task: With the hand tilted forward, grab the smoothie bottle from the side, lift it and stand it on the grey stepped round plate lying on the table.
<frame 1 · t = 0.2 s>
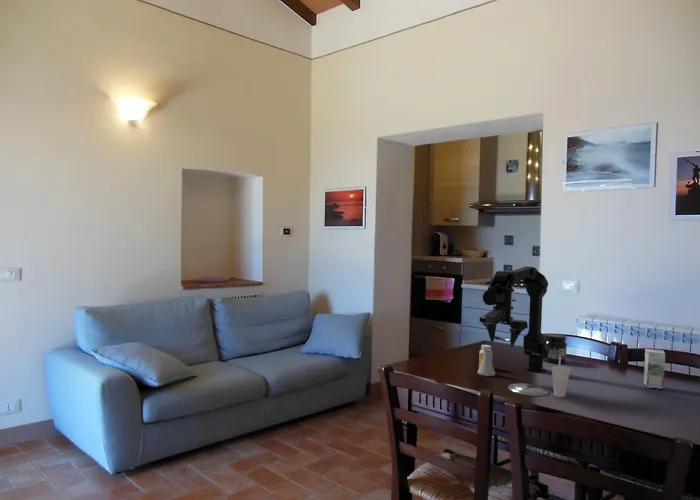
hand: (501, 343, 199), 14 cm above the table, tool pointing down, fingers open, 9 cm apart
smoothie: (559, 395, 183), on the table
supplement container: (553, 361, 236), on the table
flask: (486, 374, 208), on the table
syrup box: (653, 388, 198), on the table
grey stepped round plate: (527, 390, 188), on the table
supplement bottle: (485, 368, 218), on the table
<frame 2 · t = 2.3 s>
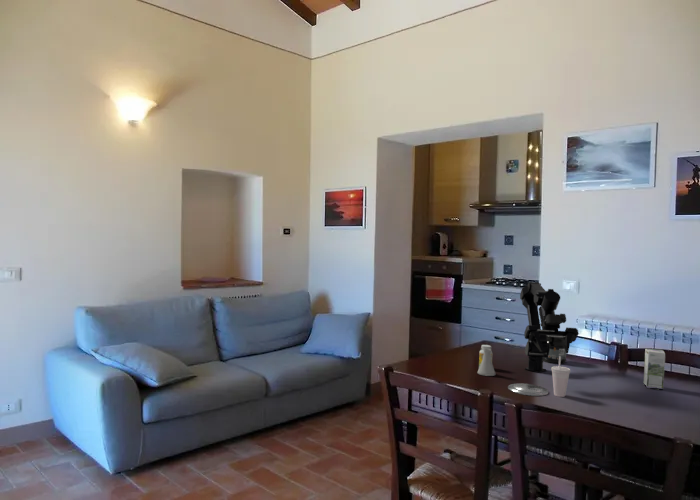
hand: (554, 352, 191), 13 cm above the table, tool tilted 45°, fingers open, 9 cm apart
nothing on the table moved.
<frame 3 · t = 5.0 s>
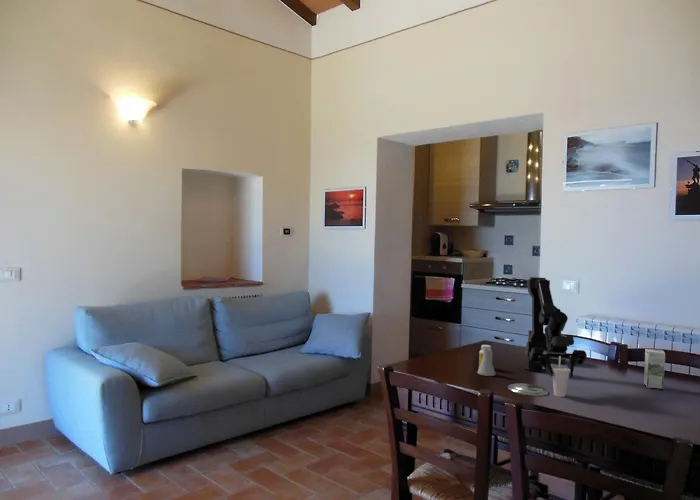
hand: (561, 376, 181), 7 cm above the table, tool tilted 45°, fingers closed on smoothie, 6 cm apart
smoothie: (559, 395, 183), on the table, touching gripper
everything else where it was.
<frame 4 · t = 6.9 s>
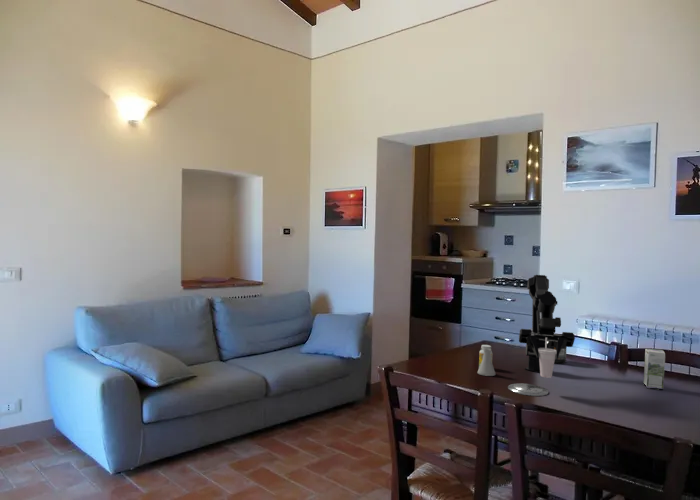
hand: (547, 357, 183), 13 cm above the table, tool tilted 45°, fingers closed on smoothie, 6 cm apart
smoothie: (546, 376, 185), point 6 cm above the table, touching gripper
everything else where it was.
when the fingers open (9 cm above the table, at t = 8.8 s): smoothie drops 1 cm, resting on grey stepped round plate.
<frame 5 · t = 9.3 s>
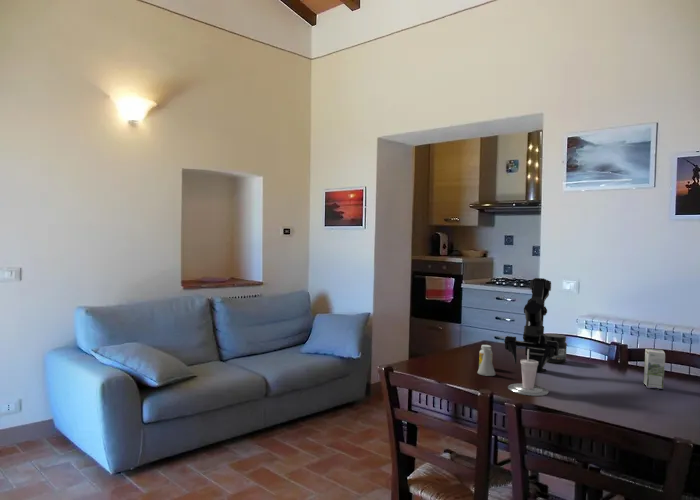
hand: (528, 364, 186), 10 cm above the table, tool tilted 45°, fingers open, 9 cm apart
smoothie: (528, 387, 188), point 1 cm above the table, touching grey stepped round plate
everything else where it was.
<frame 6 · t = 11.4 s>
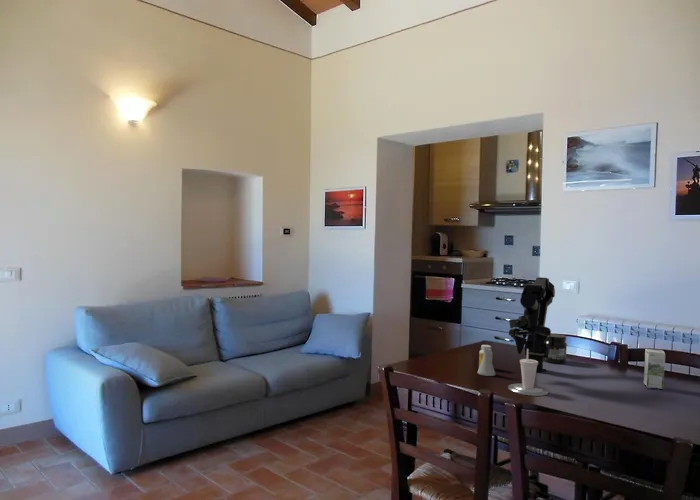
hand: (526, 353, 199), 11 cm above the table, tool tilted 20°, fingers open, 9 cm apart
nothing on the table moved.
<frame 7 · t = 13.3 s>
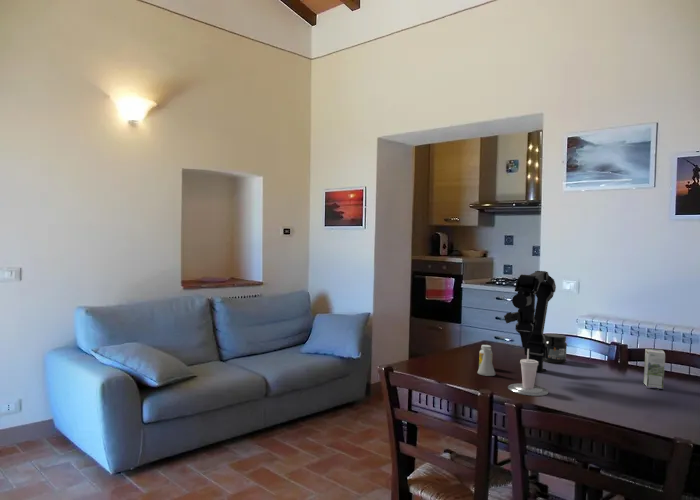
hand: (525, 345, 204), 13 cm above the table, tool pointing down, fingers open, 9 cm apart
nothing on the table moved.
at the end: smoothie 0.1 cm from the grey stepped round plate (horizontally); smoothie tilted 0°; the gripper is holding nothing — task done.
